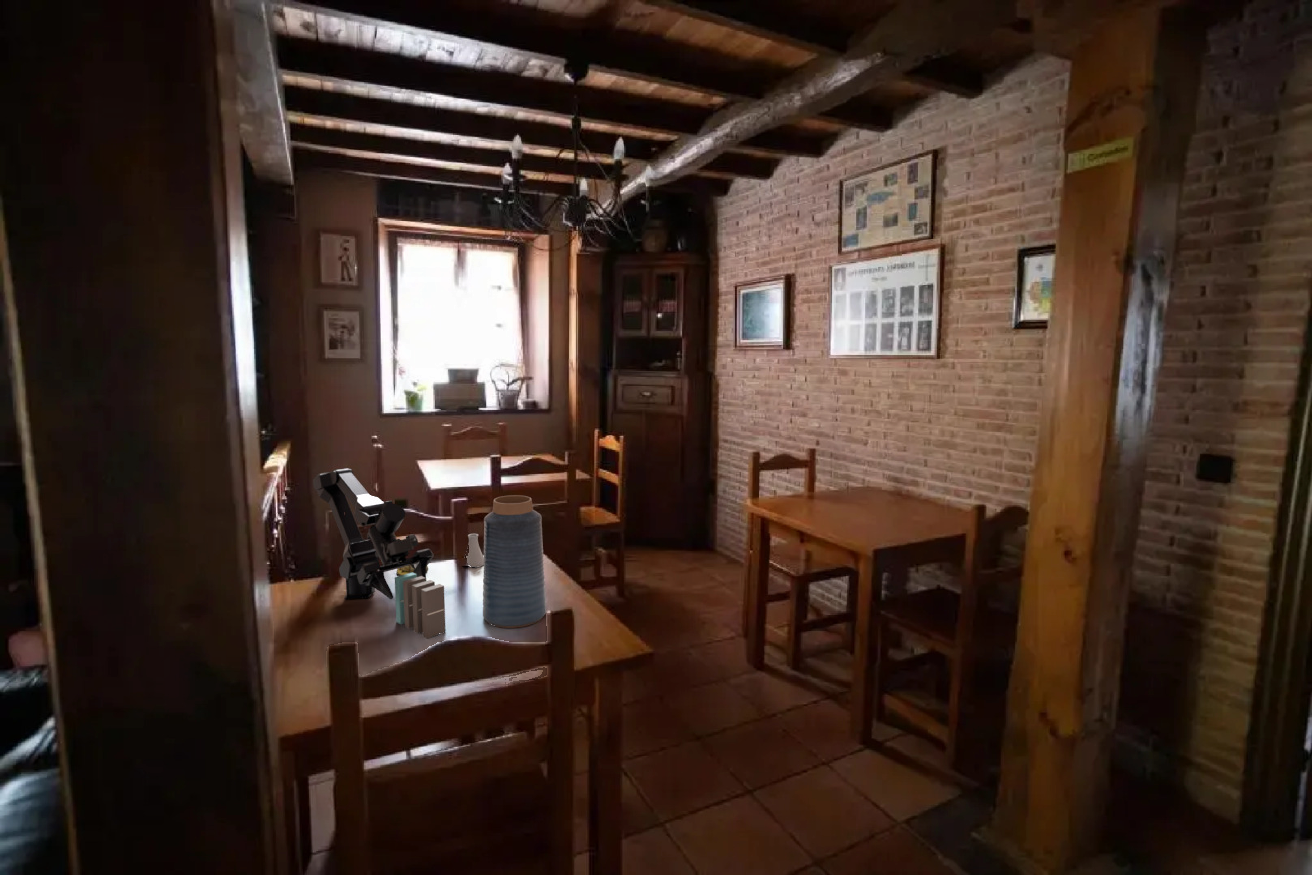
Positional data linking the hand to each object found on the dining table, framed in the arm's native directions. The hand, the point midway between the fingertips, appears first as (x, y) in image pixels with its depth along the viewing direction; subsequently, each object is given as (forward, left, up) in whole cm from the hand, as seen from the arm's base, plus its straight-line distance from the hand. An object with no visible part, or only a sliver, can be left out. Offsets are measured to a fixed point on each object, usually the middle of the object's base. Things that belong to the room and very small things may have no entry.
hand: (409, 593), depth 167 cm
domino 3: (+8, -8, -8) cm, 14 cm away
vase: (+26, +1, -8) cm, 28 cm away
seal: (-9, +39, -8) cm, 41 cm away
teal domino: (-1, +1, -8) cm, 8 cm away
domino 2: (+5, -5, -8) cm, 10 cm away
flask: (+9, +44, -8) cm, 46 cm away
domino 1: (+2, -2, -8) cm, 8 cm away
